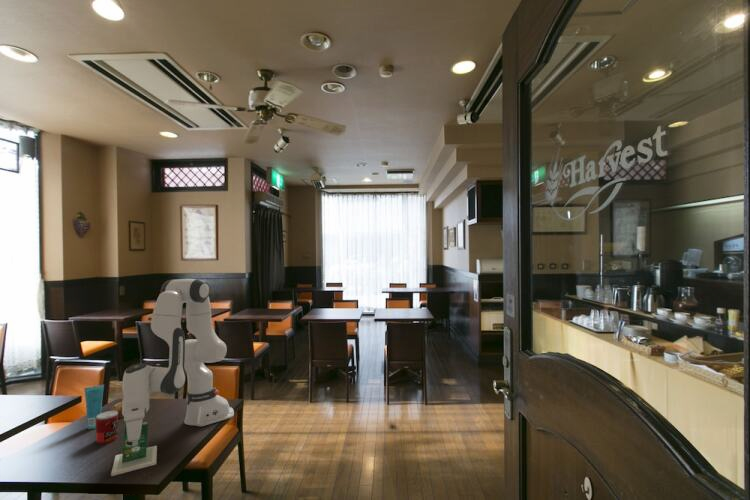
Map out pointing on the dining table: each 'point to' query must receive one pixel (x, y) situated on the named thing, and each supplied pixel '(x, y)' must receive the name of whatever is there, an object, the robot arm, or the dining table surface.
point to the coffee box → (135, 451)
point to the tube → (93, 404)
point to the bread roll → (117, 409)
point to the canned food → (106, 427)
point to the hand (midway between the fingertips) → (135, 442)
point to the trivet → (134, 462)
